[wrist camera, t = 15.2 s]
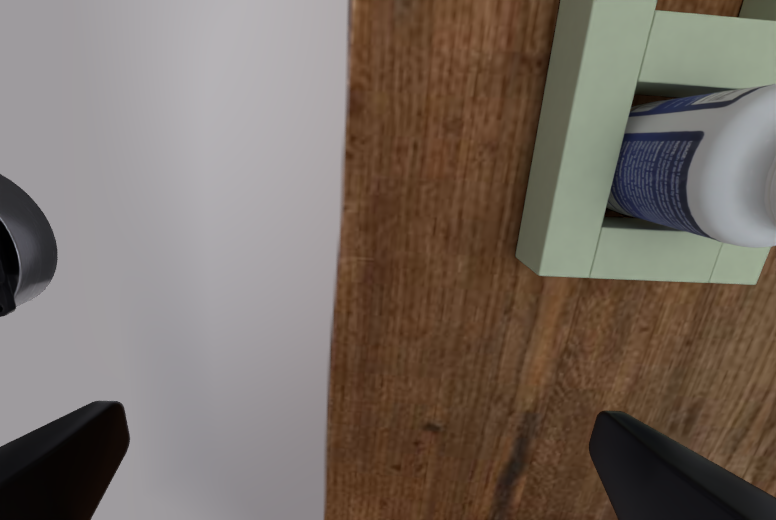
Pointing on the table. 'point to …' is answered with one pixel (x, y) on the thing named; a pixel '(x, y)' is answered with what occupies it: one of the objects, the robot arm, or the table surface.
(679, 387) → the table surface
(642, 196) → the pill bottle
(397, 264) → the table surface
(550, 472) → the table surface
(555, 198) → the frame
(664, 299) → the table surface
